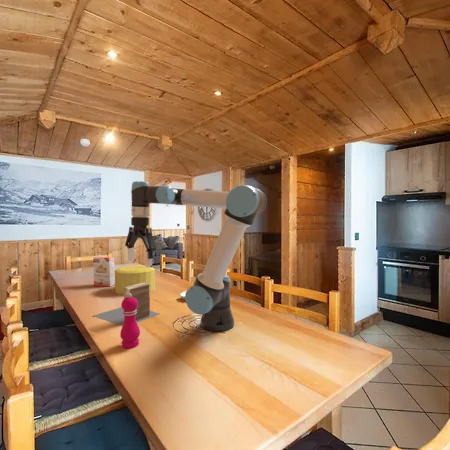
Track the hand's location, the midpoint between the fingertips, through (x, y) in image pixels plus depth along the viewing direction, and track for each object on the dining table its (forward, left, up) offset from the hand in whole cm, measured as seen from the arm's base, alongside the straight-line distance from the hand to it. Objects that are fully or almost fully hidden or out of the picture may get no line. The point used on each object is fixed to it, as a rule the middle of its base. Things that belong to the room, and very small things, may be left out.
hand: (139, 264), depth 129 cm
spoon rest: (+9, -50, -29) cm, 58 cm away
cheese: (+57, -41, -28) cm, 76 cm away
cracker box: (+86, -36, -28) cm, 98 cm away
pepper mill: (-12, +14, -28) cm, 34 cm away
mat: (+17, -5, -28) cm, 33 cm away
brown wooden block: (+8, -5, -28) cm, 29 cm away
